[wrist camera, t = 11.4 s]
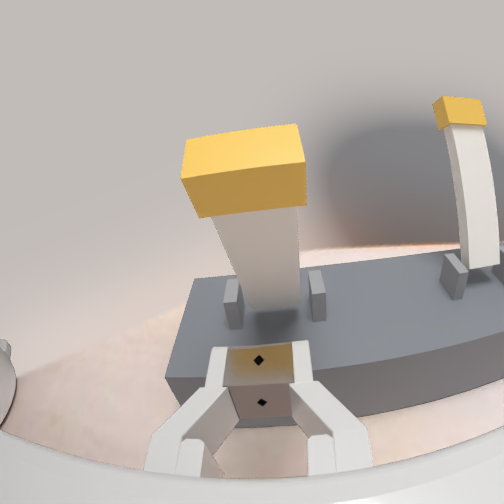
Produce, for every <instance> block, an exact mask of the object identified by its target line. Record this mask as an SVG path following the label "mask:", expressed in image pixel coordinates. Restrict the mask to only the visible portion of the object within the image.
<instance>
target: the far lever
mask: <svg viewBox="0 0 504 504" xmlns="http://www.w3.org/2000/svg"><path fill="white" fill-rule="evenodd" d="M433 109H434V112H435V116H436V121H437V124H438V129H439V130H444V132H445V137H446V142H447V146H448V151H449V157H450V162H451V168H452V174H453V180H454V186H455V194H456V203H457V211H458V221H459V233H460V248H461V263H462V264H463V265H464V266H465V267H466V269H475V268H480V267H486V266H491V265H497V264H500V249H499V231H498V218H497V208H496V199H495V192H494V184H493V177H492V171H491V166H490V160H489V155H488V150H487V145H486V140H485V136H484V132H483V127H484V126H486V125H487V123H486V119H485V115H484V111H483V108H482V104H481V101H480V100H478V99H469V98H459V97H448V96H442V97H441V98H439V99H438V100H437V101H436V102H435V103H434V104H433Z"/></svg>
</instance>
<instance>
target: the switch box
mask: <svg viewBox="0 0 504 504" xmlns="http://www.w3.org/2000/svg"><path fill="white" fill-rule="evenodd" d="M499 249H500V264H497V265H491V266H486V267H480V268H475V269H466V267H465V266H464V265H463V264H462V263H461V249H453V250H446V251H438V252H431V253H423V254H415V255H408V256H400V257H392V258H383V259H375V260H367V261H359V262H350V263H341V264H333V265H324V266H315V267H306V268H300V300H301V305H296V306H286V307H276V308H266V309H255V310H251V308H250V306H249V303H248V301H247V299H246V297H245V294H244V292H243V290H242V287H241V285H240V283H239V281H238V278H237V276H236V275H229V276H220V277H208V278H198V279H194V282H193V285H192V289H191V292H190V295H189V298H188V301H187V304H186V307H185V311H184V314H183V317H182V320H181V324H180V327H179V330H178V334H177V337H176V340H175V344H174V347H173V350H172V354H171V357H170V361H169V364H168V367H167V371H166V374H165V379H166V381H167V382H168V384H169V386H170V388H171V390H172V392H173V393H174V395H175V397H176V399H177V400H178V402H179V404H180V406H182V405H183V404H184V403H185V402H186V401H187V400H188V399H189V398H190V397H191V396H192V395H193V394H194V393H195V392H196V391H197V390H198V389H199V388H200V387H205V382H206V376H207V371H208V365H209V360H210V354H211V350H212V348H213V347H229V346H250V345H262V344H273V343H284V342H291V343H292V342H294V341H303V340H308V342H309V348H310V356H311V364H312V373H313V381H319V382H320V383H321V384H322V385H323V386H324V387H325V388H326V389H327V390H328V391H329V392H330V393H331V394H332V395H333V396H334V397H335V398H336V399H337V400H339V401H340V402H341V403H342V404H343V405H344V406H345V407H346V408H347V409H348V410H349V411H350V412H351V413H352V414H353V415H354V416H355V417H361V416H367V415H372V414H378V413H383V412H388V411H393V410H397V409H402V408H406V407H411V406H415V405H419V404H423V403H427V402H431V401H434V400H438V399H442V398H445V397H449V396H452V395H455V394H459V393H462V392H465V391H468V390H471V389H474V388H477V387H480V386H483V385H486V384H488V383H491V382H494V381H497V380H499V379H502V378H504V243H499ZM287 425H298V424H297V423H296V421H295V420H294V419H293V417H292V416H283V417H261V418H244V419H239V421H238V423H237V424H236V425H235V427H234V428H251V427H272V426H287Z"/></svg>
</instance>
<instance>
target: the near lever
mask: <svg viewBox="0 0 504 504" xmlns="http://www.w3.org/2000/svg"><path fill="white" fill-rule="evenodd" d="M181 180H182V183H183V185H184V187H185V189H186V191H187V193H188V196H189V198H190V200H191V202H192V204H193V206H194V208H195V210H196V213H197V215H198V217H199V218H204V217H211V218H212V220H213V223H214V225H215V227H216V230H217V232H218V234H219V237H220V239H221V241H222V244H223V246H224V248H225V251H226V253H227V255H228V258H229V260H230V262H231V265H232V267H233V269H234V271H235V274H236V276H237V278H238V281H239V283H240V285H241V287H242V290H243V292H244V294H245V297H246V299H247V301H248V303H249V306H250V308H251V310H255V309H266V308H276V307H286V306H296V305H301V300H300V266H299V241H298V221H297V206H305V205H306V164H305V158H304V153H303V149H302V144H301V140H300V136H299V132H298V127H297V124H289V125H280V126H271V127H263V128H256V129H248V130H241V131H234V132H228V133H221V134H216V135H209V136H204V137H198V138H193V139H188V140H186V146H185V153H184V160H183V166H182V173H181Z"/></svg>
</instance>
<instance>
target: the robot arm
mask: <svg viewBox="0 0 504 504" xmlns="http://www.w3.org/2000/svg"><path fill="white" fill-rule="evenodd" d="M10 355H11V346H10V345H9V344H8V342H7V341H6V340H0V424H1V423H2V421H3V419H4V418H5V416H6V414H7V412H8V410H9V408H10V405H11V403H12V400H13V397H14V393H15V387H16V375H15V370H14V367H13V366H12V363H11V361H10ZM283 416H292V417H293V419H294V420H295V421H296V423H297V424H298V425H299V427H300V428H301V429H302V430H303V432H304V433H305V434H306V436H307V437H308V438H309V439H308V440H307V473H308V476H300V477H285V478H257V479H237V478H223V474H224V472H223V471H222V470H221V468H220V467H219V465H218V463H217V462H216V460H215V459H214V457H213V455H214V454H215V452H216V451H217V450H218V448H219V447H220V446H221V444H222V443H223V442H224V440H225V439H226V438H227V436H228V435H229V434H230V432H231V431H232V430H233V428H234V427H235V425H236V424H237V423H238V421H239V419H244V418H261V417H283ZM0 504H504V426H502V427H499V428H497V429H495V430H493V431H490V432H488V433H485V434H483V435H480V436H478V437H475V438H472V439H470V440H467V441H464V442H462V443H459V444H456V445H453V446H450V447H447V448H444V449H441V450H437V451H434V452H431V453H427V454H424V455H420V456H417V457H413V458H409V459H405V460H401V461H397V462H392V463H388V464H383V465H378V466H374V465H373V459H372V453H371V448H370V442H369V437H368V432H367V427H366V426H365V425H364V424H363V423H362V422H360V421H359V420H358V419H357V418H356V417H355V416H354V415H353V414H352V413H351V412H350V411H349V410H348V409H347V408H346V407H345V406H344V405H343V404H342V403H341V402H340V401H339V400H337V399H336V398H335V397H334V396H333V395H332V394H331V393H330V392H329V391H328V390H327V389H326V388H325V387H324V386H323V385H322V384H321V383H320V382H319V381H313V373H312V364H311V356H310V348H309V342H308V340H303V341H294V342H292V343H291V342H284V343H273V344H262V345H250V346H229V347H213V348H212V350H211V354H210V360H209V365H208V371H207V376H206V382H205V387H200V388H199V389H198V390H197V391H196V392H195V393H194V394H193V395H192V396H191V397H190V398H189V399H188V400H187V401H186V402H185V403H184V404H183V405H182V406H181V407H180V408H179V409H178V410H177V411H176V412H175V413H174V414H173V415H172V416H171V417H170V418H169V419H168V420H167V421H166V422H165V423H164V424H163V425H162V426H160V427H159V428H158V429H157V430H156V431H155V432H154V433H153V434H152V437H151V441H150V444H149V448H148V452H147V456H146V460H145V464H144V468H143V470H137V469H131V468H126V467H121V466H116V465H111V464H106V463H102V462H97V461H93V460H89V459H85V458H81V457H78V456H74V455H70V454H67V453H63V452H60V451H57V450H54V449H51V448H47V447H44V446H41V445H39V444H36V443H33V442H30V441H27V440H25V439H22V438H19V437H17V436H14V435H12V434H9V433H7V432H4V431H2V430H0Z"/></svg>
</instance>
